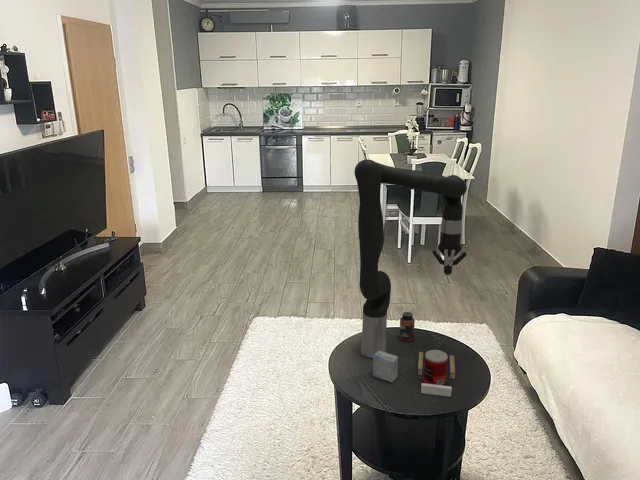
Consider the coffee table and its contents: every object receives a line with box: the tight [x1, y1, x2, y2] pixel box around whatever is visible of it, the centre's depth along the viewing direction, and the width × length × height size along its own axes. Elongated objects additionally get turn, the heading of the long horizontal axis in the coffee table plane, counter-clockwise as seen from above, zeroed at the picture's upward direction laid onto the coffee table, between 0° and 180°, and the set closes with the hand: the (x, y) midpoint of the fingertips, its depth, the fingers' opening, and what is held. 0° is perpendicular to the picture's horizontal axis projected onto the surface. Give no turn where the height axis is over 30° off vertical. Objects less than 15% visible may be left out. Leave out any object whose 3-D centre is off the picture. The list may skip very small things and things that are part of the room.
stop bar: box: [420, 382, 453, 398], centre depth 173 cm, size 10×2×3 cm, turn 78°
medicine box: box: [372, 351, 399, 383], centre depth 182 cm, size 8×4×9 cm, turn 56°
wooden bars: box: [417, 351, 456, 380], centre depth 189 cm, size 13×12×2 cm
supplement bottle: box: [398, 311, 416, 342], centre depth 209 cm, size 6×6×11 cm
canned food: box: [422, 349, 449, 386], centre depth 178 cm, size 8×8×11 cm
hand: (447, 274), depth 192 cm, fingers closed
